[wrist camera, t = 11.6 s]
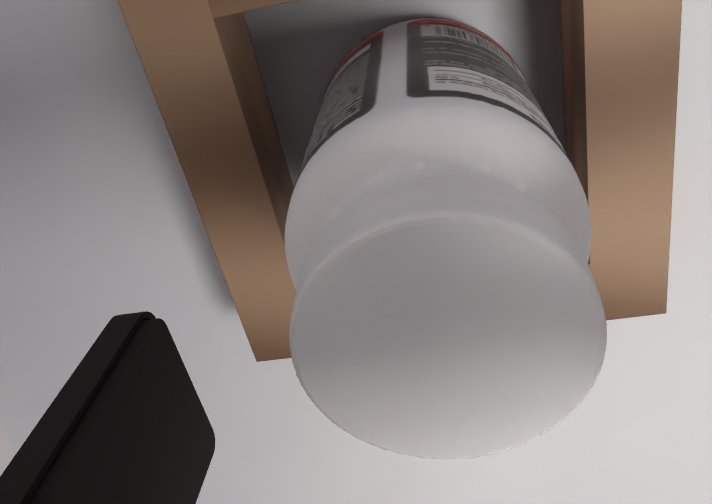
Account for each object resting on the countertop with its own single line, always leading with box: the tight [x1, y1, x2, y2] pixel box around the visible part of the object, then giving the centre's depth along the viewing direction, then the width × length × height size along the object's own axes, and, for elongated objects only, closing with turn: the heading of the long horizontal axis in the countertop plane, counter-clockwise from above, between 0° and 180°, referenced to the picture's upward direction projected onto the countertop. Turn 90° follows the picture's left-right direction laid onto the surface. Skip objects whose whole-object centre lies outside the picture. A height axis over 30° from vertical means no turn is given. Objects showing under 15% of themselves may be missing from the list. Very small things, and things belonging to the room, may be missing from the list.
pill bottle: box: [285, 18, 607, 459], centre depth 13 cm, size 6×6×10 cm
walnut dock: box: [118, 0, 682, 362], centre depth 17 cm, size 12×12×2 cm
